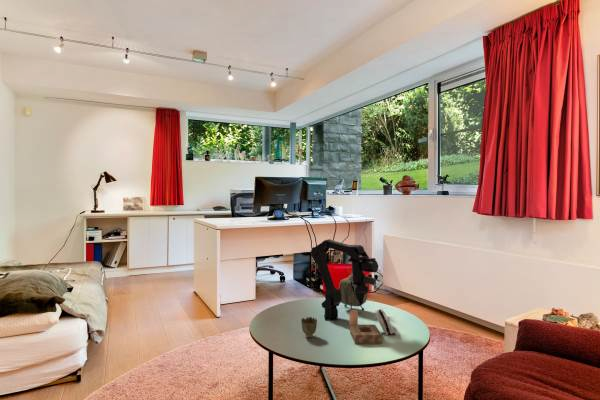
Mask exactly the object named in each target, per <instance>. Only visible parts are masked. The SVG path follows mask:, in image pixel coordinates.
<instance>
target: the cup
mask: <svg viewBox="0 0 600 400" xmlns="http://www.w3.org/2000/svg"><path fill="white" fill-rule="evenodd" d="M300 321H301V329H302V333H303V334H304V336H305V337H306V338H308V339H311V338H312V337H313V336H314V334H315V333H316V330H317V326H318V319H317V317H316V318H315V317H312V316H309V317H308V316H307V317H306V318H305V317H303V318H301V320H300Z"/></svg>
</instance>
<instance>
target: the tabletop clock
mask: <svg viewBox="0 0 600 400" xmlns="http://www.w3.org/2000/svg"><path fill="white" fill-rule="evenodd" d="M349 269H352V266H349V267H347V273H349V274H350V275H348V277H346V278H343V279H341V280H340V282H339V285H338V286H339V287H338V289H339V290H340V293H341V295H342V300H341V302H340V303H341V304H343V305H344V307H345V308H347V307H348V306H350V308H349V311H350V310H353V307H360V308H361V311H362V312H363V311H365V308H364V307H363V305H364V304H365V303H366V302H367V300H368V292H367V293H366V294H365V295H364V299H363V304H362V305H360V304H359V301H358V300H357V299H356V296H355V294H354V292H353V290H352V287H351V285H350V280H351V279H352V271H349ZM365 285H366V286H367V287H368V283H366V284H365Z"/></svg>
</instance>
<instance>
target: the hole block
mask: <svg viewBox="0 0 600 400" xmlns="http://www.w3.org/2000/svg"><path fill="white" fill-rule="evenodd" d="M349 334H350V336H351V338H352V341H353V343H354V345H381V344H383V335H382V332H381V331H380V330H379V328H378V326H377V325H376V324H358V325H350V327H349Z"/></svg>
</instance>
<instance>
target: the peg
mask: <svg viewBox="0 0 600 400" xmlns="http://www.w3.org/2000/svg"><path fill="white" fill-rule="evenodd" d="M358 316H359V312H358V310H356V309H352V310H350V309H349V328H350V325H359V324H358V321H359V320H358Z"/></svg>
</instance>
